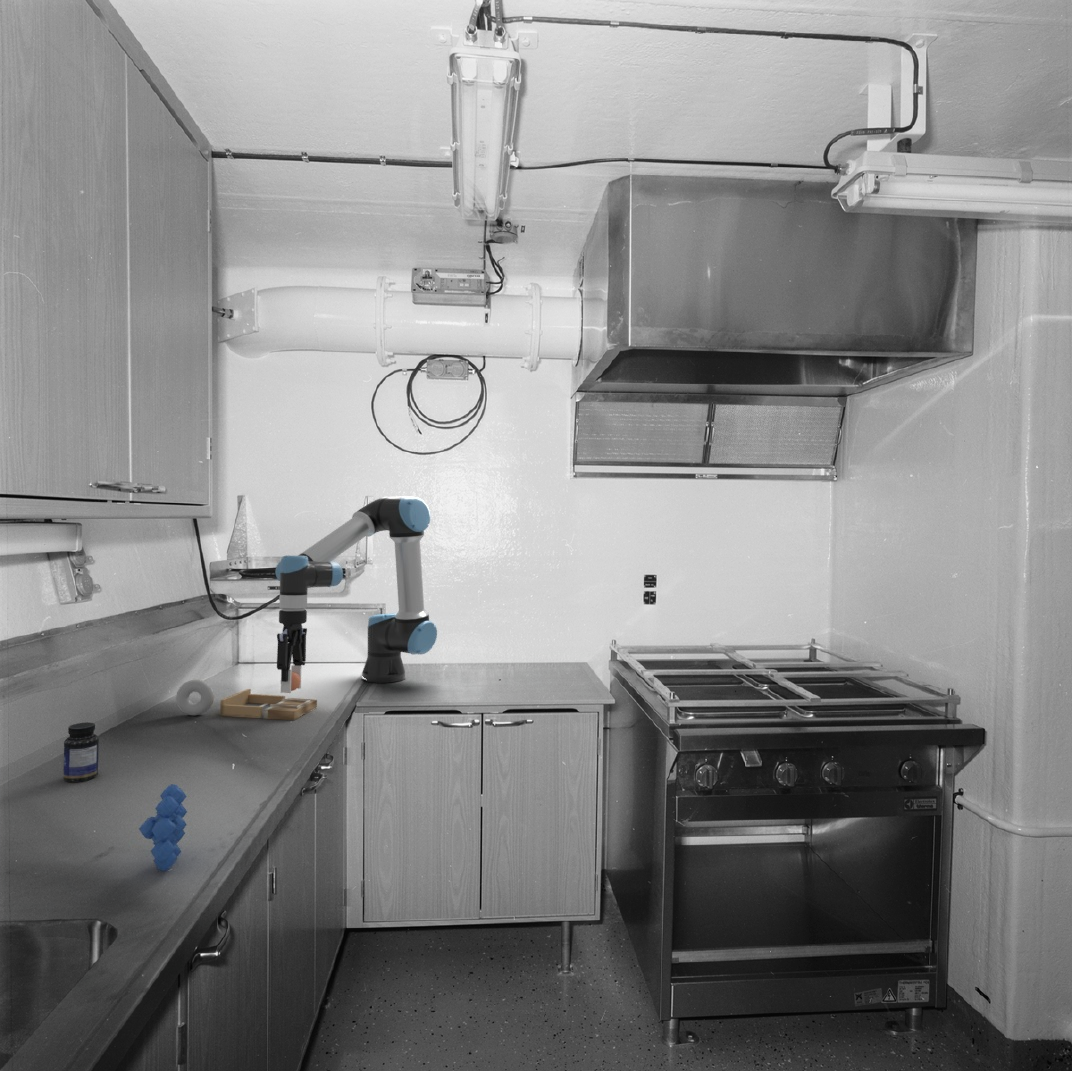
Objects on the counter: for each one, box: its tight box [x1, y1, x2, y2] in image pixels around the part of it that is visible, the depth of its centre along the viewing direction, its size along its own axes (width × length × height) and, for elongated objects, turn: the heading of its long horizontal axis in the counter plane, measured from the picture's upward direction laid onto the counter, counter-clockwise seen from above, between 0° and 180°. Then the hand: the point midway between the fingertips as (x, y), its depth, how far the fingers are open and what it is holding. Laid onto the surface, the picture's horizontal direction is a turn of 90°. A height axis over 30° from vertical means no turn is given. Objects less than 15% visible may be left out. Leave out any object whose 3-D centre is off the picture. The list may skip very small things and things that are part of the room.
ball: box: [291, 672, 302, 692], centre depth 200 cm, size 5×5×5 cm
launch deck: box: [263, 697, 318, 721], centre depth 200 cm, size 14×9×3 cm, turn 172°
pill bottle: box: [63, 721, 100, 783], centre depth 146 cm, size 6×6×11 cm
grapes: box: [138, 783, 188, 872], centre depth 110 cm, size 12×7×12 cm, turn 16°
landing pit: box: [219, 688, 286, 719], centre depth 201 cm, size 14×13×4 cm
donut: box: [175, 679, 215, 717], centre depth 195 cm, size 10×4×10 cm, turn 98°
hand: (290, 690), depth 200 cm, fingers closed on ball, 5 cm apart
